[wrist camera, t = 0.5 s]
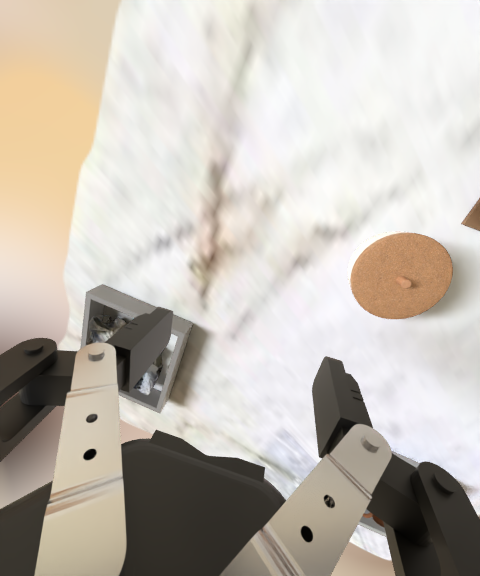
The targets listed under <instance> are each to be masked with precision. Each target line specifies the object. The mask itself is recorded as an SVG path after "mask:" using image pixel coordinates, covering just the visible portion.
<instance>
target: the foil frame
mask: <svg viewBox="0 0 480 576" xmlns="http://www.w3.org/2000/svg"><path fill="white" fill-rule="evenodd" d="M104 305H106V306H108V307H110V308H113V309H115V310H117V311H120V312H122V313H125V314H127V315H129V316H132V317H134V318H135V317H137V316H139V315H142V314H145V313H148V314H150V313H152V312H153V311H154V310H155V309H156V308H157V307H154V306H152V305H150V304H147V303H145V302H142V301H140V300H138V299H135V298H133V297H131V296H128V295H126V294H124V293H121V292H119V291H116V290H114V289H112V288H109V287H107V286H105V285H100V286H98V287H96V288H94V289H92V290H90V291H88V292H86V299H85V309H84V319H83V329H82V339H81V348H83V347H84V346H86V342H87V341H88V340H89V338H90V333H91V331H89V321H90V320H91V318H92V317H93V316H95V315H103V311H104ZM98 318H99V319H100V320H101V321H102V318H103V317H98ZM192 325H193V323H192V322H190V321H187V320H185V319H183V318H180V317H178V316H175V315H173V320H172V329H171V334H174V335H176V336H178V339H177V342H176V345H175V349H174V352H173V355H172V358H171V362H170V365H169V368H168V372H167V375H166V378H165V382H164V385H163V388H162V392H160V391H158V390H156V389H154V388H153V389H152V390H151V392H150V393H149V395H145V394H143V393H141V392H140V391H139V390H138V389H134V388H133V389H132V390H131V391H130V392H129V393H128V392H125V391H122V390H120V391H119V392H118V395H119V396H122V397H124V398H126V399H128V400H131V401H133V402H135V403H137V404H140V405H142V406H144V407H146V408H149V409H151V410H153V411H156V412H158V413H160V412H161V411H162V409H163V407H164V406H165V404H166V402H167V401H168V399H169V396H170V393H171V390H172V387H173V384H174V381H175V378H176V375H177V371H178V368H179V365H180V362H181V359H182V356H183V353H184V350H185V347H186V344H187V341H188V337H189V334H190V331H191V328H192ZM81 348H80V349H81Z"/></svg>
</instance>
